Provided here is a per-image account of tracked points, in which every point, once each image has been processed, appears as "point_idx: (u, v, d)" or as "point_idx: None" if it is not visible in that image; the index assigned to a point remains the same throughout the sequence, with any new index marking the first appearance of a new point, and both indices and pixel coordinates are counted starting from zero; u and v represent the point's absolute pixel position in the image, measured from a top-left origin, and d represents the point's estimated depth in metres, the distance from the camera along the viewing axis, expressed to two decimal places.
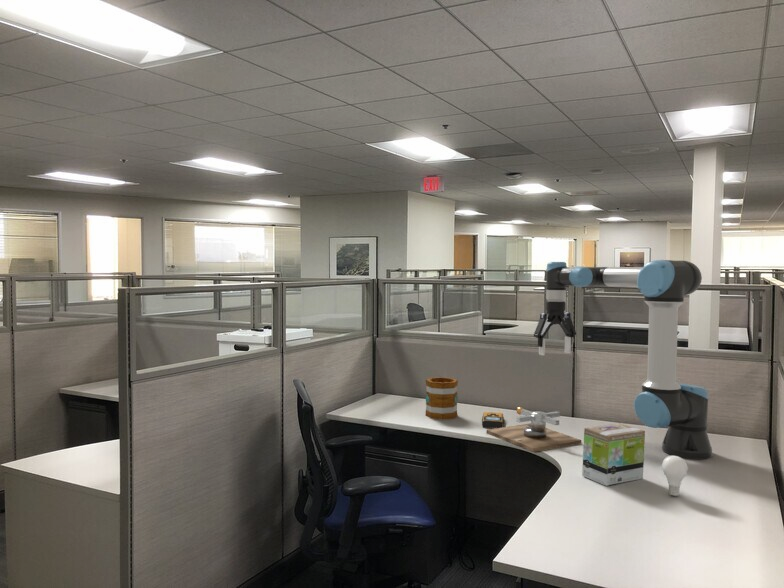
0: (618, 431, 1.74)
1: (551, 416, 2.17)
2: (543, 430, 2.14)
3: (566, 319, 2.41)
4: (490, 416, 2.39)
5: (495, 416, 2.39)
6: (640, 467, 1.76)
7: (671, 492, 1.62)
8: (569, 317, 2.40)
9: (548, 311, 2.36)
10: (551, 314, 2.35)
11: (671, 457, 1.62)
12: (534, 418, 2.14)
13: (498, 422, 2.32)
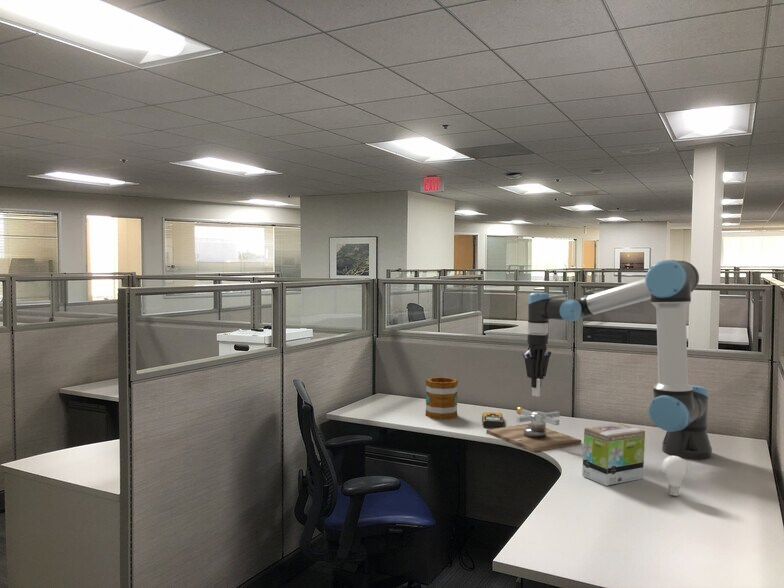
0: (618, 431, 1.74)
1: (551, 416, 2.17)
2: (543, 430, 2.14)
3: (544, 357, 2.28)
4: (490, 416, 2.39)
5: (495, 416, 2.40)
6: (640, 467, 1.76)
7: (671, 492, 1.62)
8: (548, 356, 2.28)
9: (530, 345, 2.24)
10: (532, 349, 2.23)
11: (671, 457, 1.62)
12: (534, 418, 2.14)
13: (499, 422, 2.32)
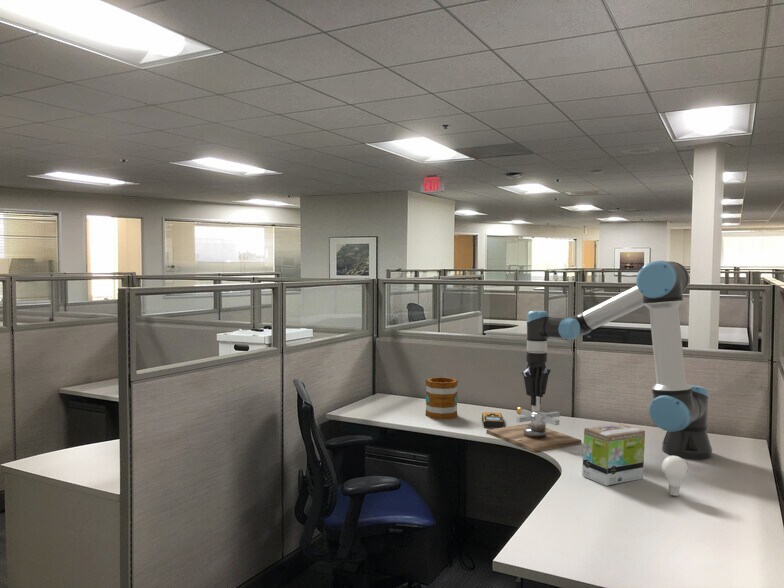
0: (618, 431, 1.74)
1: (551, 416, 2.17)
2: (543, 430, 2.14)
3: (543, 374, 2.28)
4: (490, 416, 2.39)
5: (495, 416, 2.40)
6: (640, 467, 1.76)
7: (671, 492, 1.62)
8: (547, 373, 2.28)
9: (529, 363, 2.24)
10: (531, 367, 2.23)
11: (671, 457, 1.62)
12: (534, 418, 2.14)
13: (499, 422, 2.32)
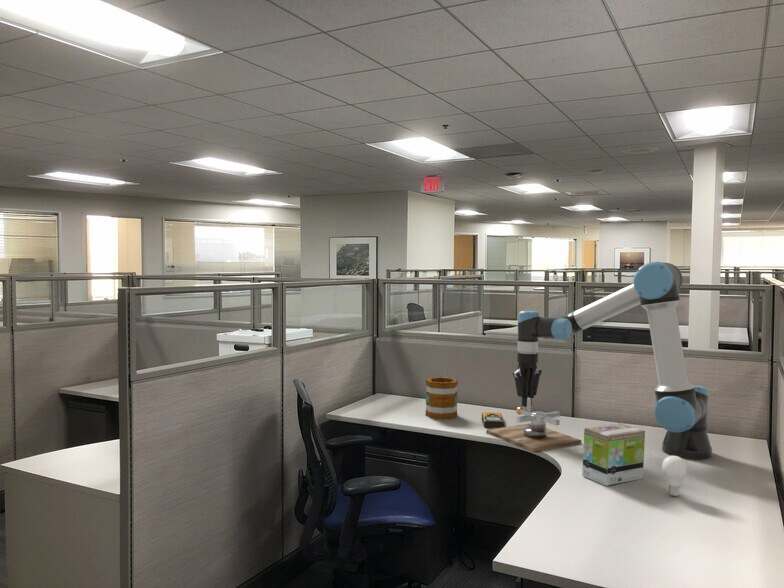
0: (618, 431, 1.74)
1: (551, 416, 2.17)
2: (543, 430, 2.14)
3: (534, 375, 2.26)
4: (490, 416, 2.39)
5: (495, 416, 2.40)
6: (640, 467, 1.76)
7: (671, 492, 1.62)
8: (539, 374, 2.25)
9: (520, 364, 2.22)
10: (522, 368, 2.21)
11: (671, 457, 1.62)
12: (534, 418, 2.14)
13: (500, 422, 2.32)
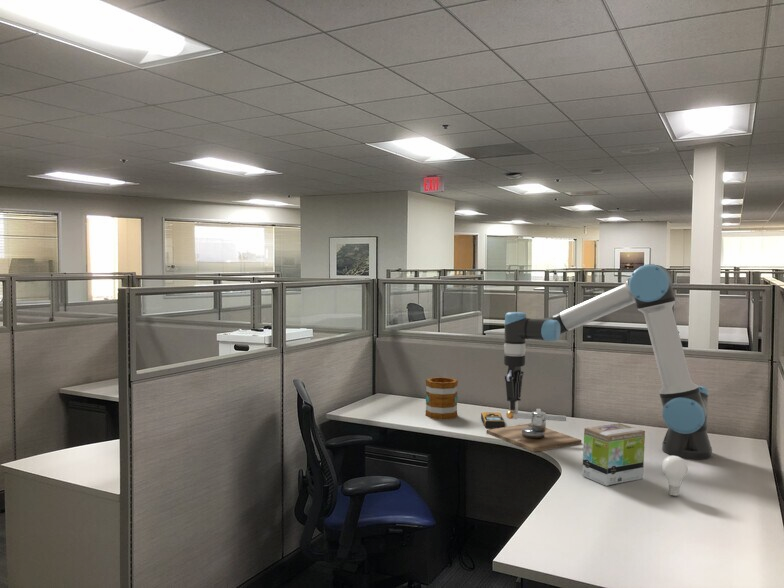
0: (618, 431, 1.74)
1: None
2: (545, 429, 2.15)
3: None
4: (490, 416, 2.39)
5: (495, 416, 2.40)
6: (640, 467, 1.76)
7: (671, 492, 1.62)
8: (522, 376, 2.22)
9: (510, 367, 2.15)
10: (513, 371, 2.15)
11: (671, 457, 1.62)
12: (541, 419, 2.13)
13: (501, 422, 2.32)
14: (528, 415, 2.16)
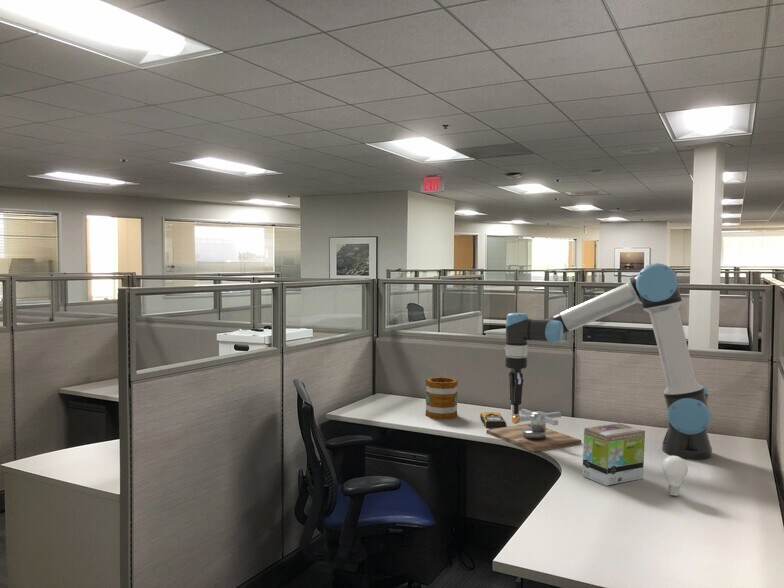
0: (618, 431, 1.74)
1: None
2: None
3: None
4: (490, 416, 2.39)
5: (495, 416, 2.40)
6: (640, 467, 1.76)
7: (671, 492, 1.62)
8: None
9: (518, 369, 2.09)
10: None
11: (671, 457, 1.62)
12: None
13: (502, 422, 2.32)
14: (532, 417, 2.13)
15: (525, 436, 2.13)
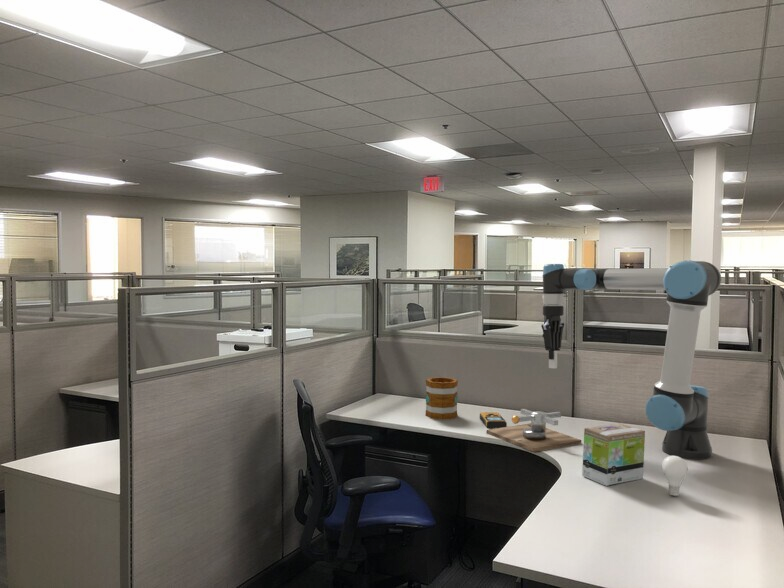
0: (618, 431, 1.74)
1: None
2: None
3: None
4: (490, 416, 2.39)
5: (495, 416, 2.40)
6: (640, 467, 1.76)
7: (671, 492, 1.62)
8: (562, 327, 2.27)
9: (547, 316, 2.22)
10: (550, 320, 2.21)
11: (671, 457, 1.62)
12: None
13: (502, 422, 2.32)
14: (532, 417, 2.13)
15: (525, 436, 2.13)
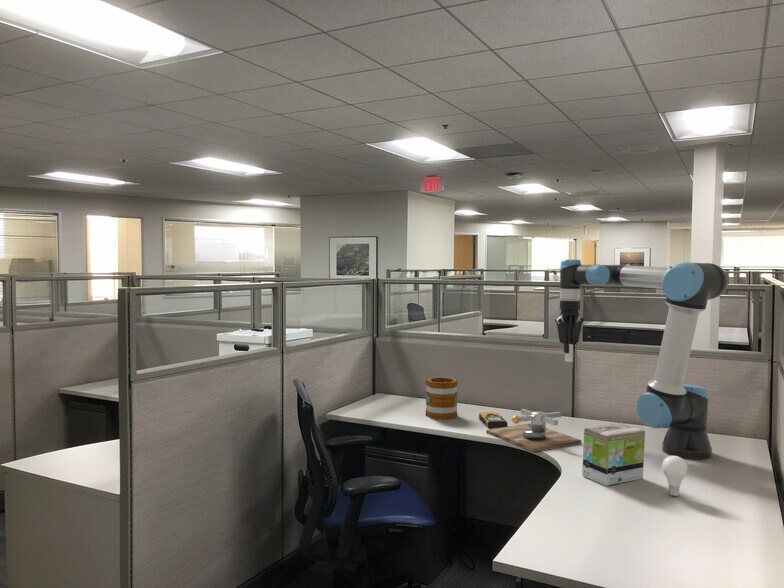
0: (618, 431, 1.74)
1: None
2: None
3: (577, 323, 2.31)
4: (490, 416, 2.39)
5: (495, 416, 2.40)
6: (640, 467, 1.76)
7: (671, 492, 1.62)
8: (581, 322, 2.30)
9: (562, 311, 2.27)
10: (565, 314, 2.26)
11: (671, 457, 1.62)
12: None
13: (503, 422, 2.32)
14: (532, 417, 2.13)
15: (525, 436, 2.13)
